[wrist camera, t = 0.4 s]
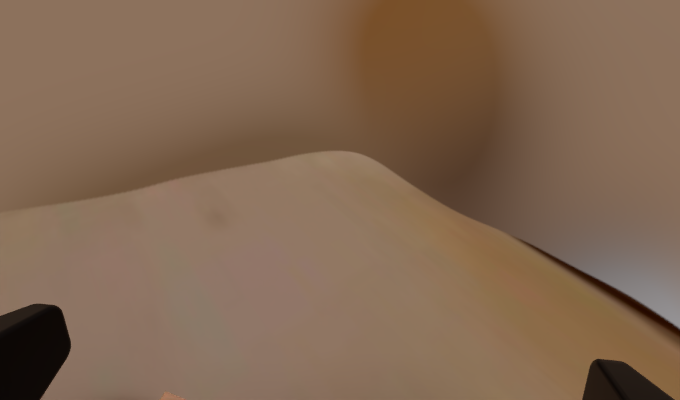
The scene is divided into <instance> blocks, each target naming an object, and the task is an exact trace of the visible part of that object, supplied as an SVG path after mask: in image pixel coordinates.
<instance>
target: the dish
mask: <svg viewBox="0 0 680 400" xmlns="http://www.w3.org/2000/svg"><path fill="white" fill-rule="evenodd" d="M160 400H186V399H183V398H181V397H178V396H176V395H173V394H171V393H168V392H166V391H165V393H164V394H163V396H162V397H161V398H160Z"/></svg>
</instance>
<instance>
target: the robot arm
mask: <svg viewBox="0 0 680 400" xmlns="http://www.w3.org/2000/svg"><path fill="white" fill-rule="evenodd" d="M70 348H71V341H70V337H69V333H68V330H67V326H66V323H65V319H64V315H63V312H62V310H61V309H60V308H59V307H58V306H55V305H48V304H33V305H30V306H27V307H24V308H21V309H18V310H16V311H13V312H10V313H7V314H5V315H2V316H0V400H40V399H41V397H42V396H43V394H44V393H45V391H46V390H47V388H48V387H49V385H50V383H51V382H52V380H53V379H54V377H55V376H56V374H57V373H58V371H59V369H60V368H61V366H62V365H63V363H64V362H65V360H66V359H67V357H68V355H69V352H70ZM582 400H674V399H673V398H672V397H670V396H669V395H668V394H666V393H665V392H664V391H662V390H661V389H660V388H658V387H657V386H656V385H654V384H653V383H652V382H650V381H649V380H648V379H646V378H645V377H644V376H642V375H641V374H640V373H639V372H637V371H636V370H635V369H633V368H632V367H631V366H629V365H628V364H626V363H624V362H622V361H614V360H604V359H596V360H594V361H593V362H592V364H591V365H590V369H589V373H588V377H587V381H586V386H585V390H584V394H583V399H582Z"/></svg>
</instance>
